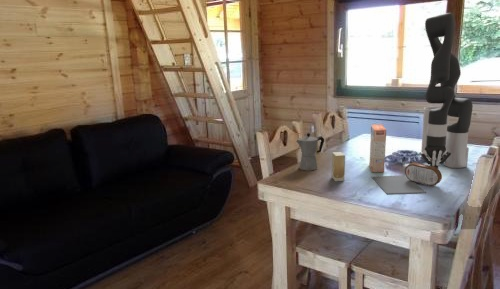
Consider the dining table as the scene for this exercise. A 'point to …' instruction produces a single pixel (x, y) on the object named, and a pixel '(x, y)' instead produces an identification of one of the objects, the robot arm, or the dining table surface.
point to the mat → (397, 184)
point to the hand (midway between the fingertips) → (433, 173)
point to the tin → (423, 174)
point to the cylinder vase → (425, 125)
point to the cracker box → (377, 148)
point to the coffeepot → (309, 151)
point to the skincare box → (338, 166)
